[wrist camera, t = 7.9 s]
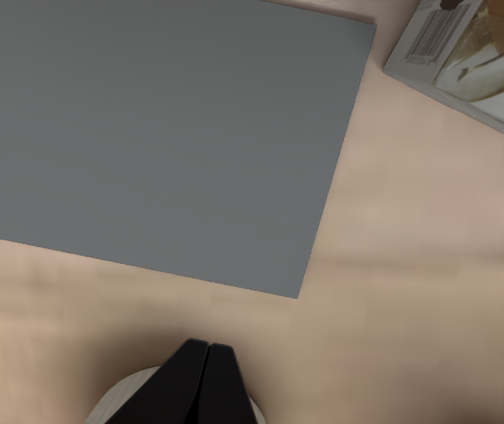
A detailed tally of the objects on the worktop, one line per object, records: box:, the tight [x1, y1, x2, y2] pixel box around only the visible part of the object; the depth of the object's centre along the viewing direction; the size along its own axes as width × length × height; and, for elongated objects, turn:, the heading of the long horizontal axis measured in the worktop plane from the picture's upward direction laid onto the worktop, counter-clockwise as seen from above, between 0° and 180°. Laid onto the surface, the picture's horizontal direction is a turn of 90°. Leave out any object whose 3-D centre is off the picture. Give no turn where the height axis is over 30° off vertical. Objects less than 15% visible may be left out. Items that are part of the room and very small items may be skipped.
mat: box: [0, 0, 377, 299], centre depth 19 cm, size 18×14×1 cm
